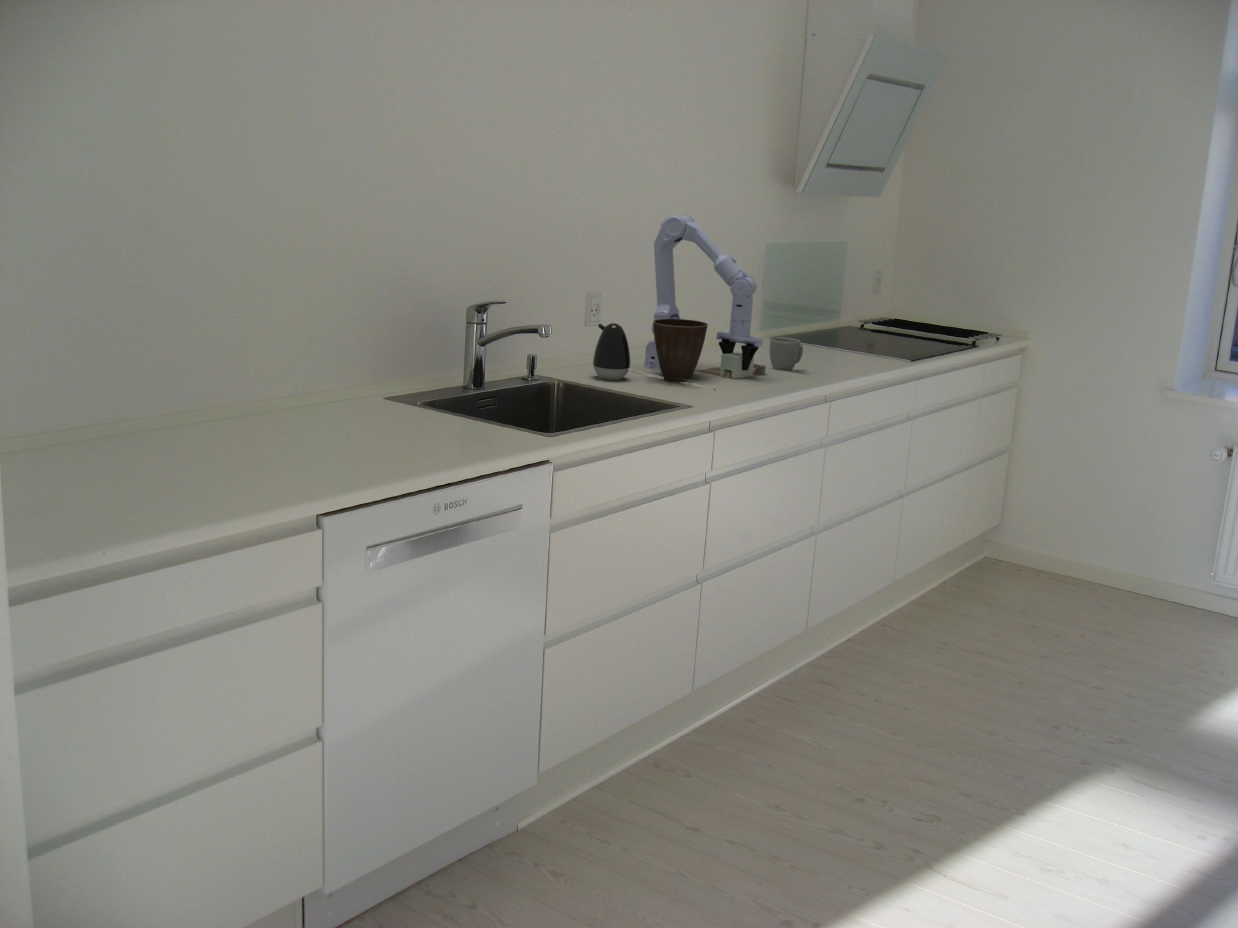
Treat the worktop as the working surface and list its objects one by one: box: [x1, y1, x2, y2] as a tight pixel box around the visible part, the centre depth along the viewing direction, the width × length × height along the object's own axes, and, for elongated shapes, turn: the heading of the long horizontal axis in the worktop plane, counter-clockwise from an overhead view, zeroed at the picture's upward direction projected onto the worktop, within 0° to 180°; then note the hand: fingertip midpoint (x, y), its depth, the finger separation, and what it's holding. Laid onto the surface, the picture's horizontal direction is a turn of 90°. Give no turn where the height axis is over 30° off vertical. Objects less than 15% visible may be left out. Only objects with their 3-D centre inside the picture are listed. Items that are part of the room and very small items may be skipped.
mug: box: [769, 336, 804, 373], centre depth 334 cm, size 12×9×10 cm
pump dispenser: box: [592, 322, 631, 381], centre depth 305 cm, size 10×10×15 cm
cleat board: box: [695, 362, 768, 380], centre depth 321 cm, size 15×15×4 cm
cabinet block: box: [719, 351, 755, 380], centre depth 316 cm, size 8×6×6 cm
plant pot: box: [652, 318, 709, 383], centre depth 309 cm, size 15×15×16 cm
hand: (736, 368), depth 316 cm, fingers closed on cabinet block, 5 cm apart
